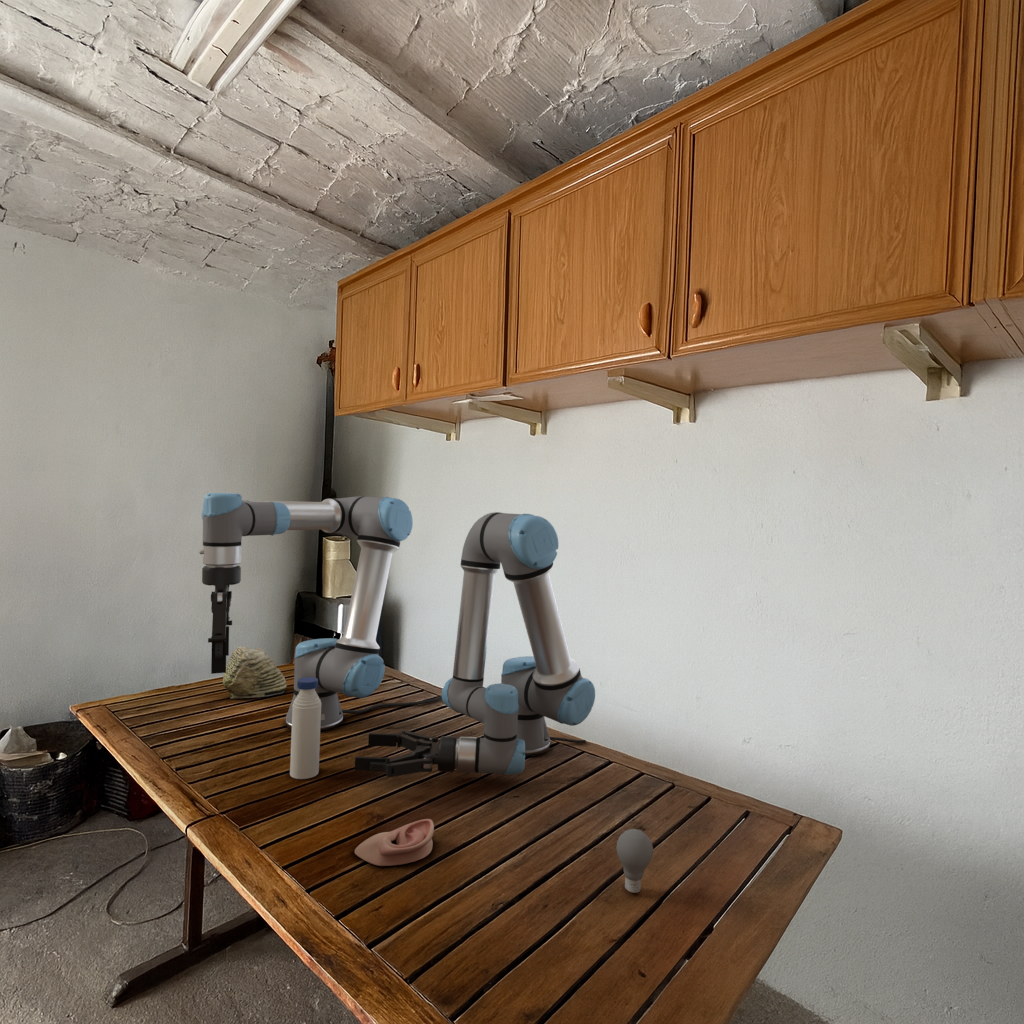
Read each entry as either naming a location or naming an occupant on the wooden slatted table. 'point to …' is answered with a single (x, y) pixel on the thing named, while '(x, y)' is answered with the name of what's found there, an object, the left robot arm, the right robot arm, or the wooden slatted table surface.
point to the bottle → (305, 735)
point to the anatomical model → (398, 844)
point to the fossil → (252, 674)
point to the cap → (307, 683)
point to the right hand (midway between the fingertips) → (362, 750)
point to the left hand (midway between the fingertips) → (220, 663)
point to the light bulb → (634, 857)
